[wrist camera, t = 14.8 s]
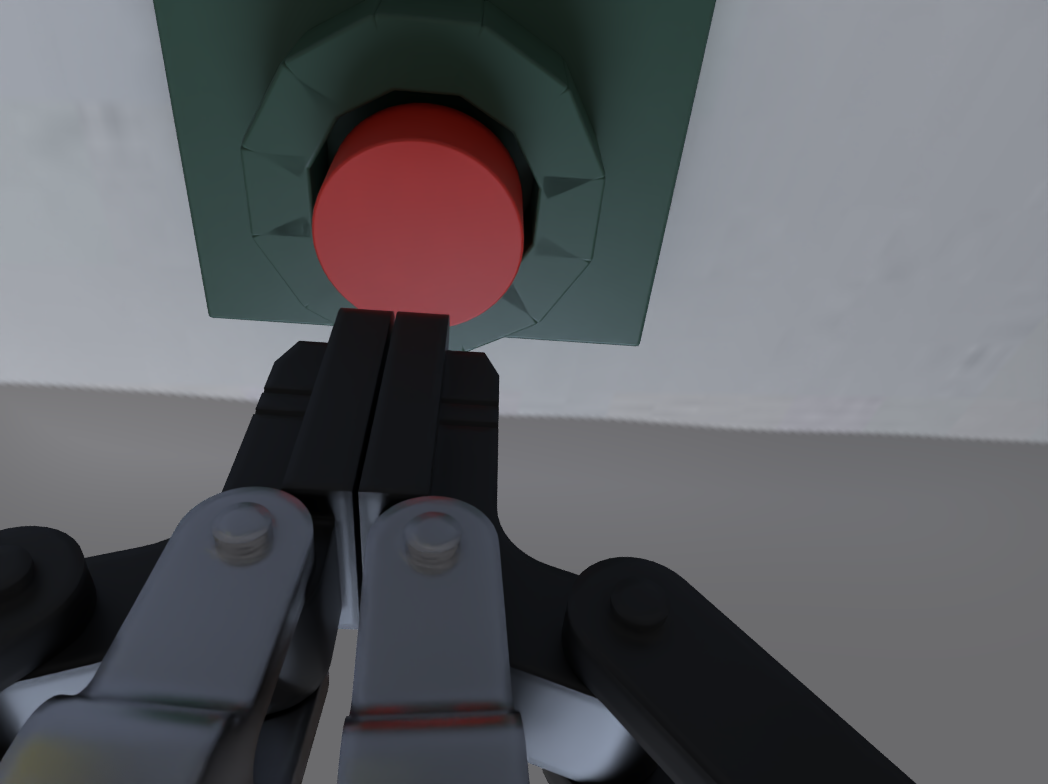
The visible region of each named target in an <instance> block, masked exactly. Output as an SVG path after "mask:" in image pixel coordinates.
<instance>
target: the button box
mask: <svg viewBox="0 0 1048 784" xmlns="http://www.w3.org/2000/svg"><path fill="white" fill-rule="evenodd" d="M153 3H154V9H155V14H156V20H157V26H158V31H159V37H160V43H161V48H162V54H163V60H164V65H165V71H166V77H167V82H168V88H169V93H170V99H171V105H172V110H173V116H174V122H175V127H176V133H177V139H178V144H179V150H180V156H181V161H182V167H183V172H184V178H185V184H186V189H187V195H188V201H189V206H190V212H191V218H192V223H193V229H194V235H195V240H196V246H197V252H198V257H199V263H200V268H201V274H202V280H203V285H204V291H205V297H206V302H207V308H208V314H209V316H210V317H212V318H226V319H241V320H256V321H270V322H285V323H300V324H315V325H330V326H334V323H335V320H336V317H337V314H338V311H339V309H340V308H354V309H358V308H357V307H355V306H354V305H353V304H352V303H350V302H349V301H348V300H347V299H346V298H345V297H344V296H343V295H342V294H340V293H339V292H338V290H337V289H336V288H335V287H334V285H333V284H332V283H331V282H330V280H329V279H328V277H327V275H326V274H325V272H324V271H323V269H322V266H321V264H320V262H319V260H318V258H317V254H316V251H315V247H314V243H313V236H312V216H313V209H314V205H315V202H316V198H317V195H318V193H319V191H320V188H321V186H322V184H323V182H324V179H325V177H326V175H327V172H328V170H329V168H330V166H331V163H332V161H333V159H334V157H335V155H336V153H337V150H338V148H339V146H340V145H341V143H342V142H343V140H344V139H345V137H346V136H347V135H348V134H349V133H350V132H351V131H352V130H353V128H354V127H355V126H357V125H358V124H359V123H360V122H362V121H363V120H364V119H366V118H367V117H369V116H371V115H372V114H374V113H376V112H378V111H381V110H383V109H386V108H388V107H392V106H396V105H400V104H408V103H431V104H438V105H443V106H446V107H450V108H453V109H456V110H459V111H461V112H463V113H465V114H468V115H469V116H471V117H473V118H474V119H476V120H478V121H479V122H481V123H482V124H483V125H485V126H486V127H487V128H488V129H490V130H491V131H492V132H493V133H494V134H495V135H496V136H497V137H498V138H499V140H500V141H501V142H502V143H503V145H504V146H505V147H506V149H507V150H508V152H509V154H510V156H511V157H512V159H513V161H514V163H515V166H516V168H517V171H518V174H519V178H520V182H521V188H522V199H523V224H524V249H523V255H522V261H521V264H520V267H519V270H518V272H517V274H516V276H515V278H514V280H513V282H512V284H511V285H510V287H509V288H508V290H507V291H506V293H505V294H504V295H503V296H502V297H501V298H500V299H499V300H498V301H497V302H496V303H495V304H494V305H493V306H491V307H490V308H489V309H488V310H486V311H485V312H483V313H482V314H480V315H479V316H477V317H475V318H473V319H471V320H468V321H466V322H463V323H460V324H457V325H454V326H449V350H452V351H470V350H473V349H475V348H478V347H480V346H483V345H485V344H488V343H490V342H493V341H495V340H498V339H500V338H503V337H508V338H523V339H538V340H552V341H567V342H582V343H597V344H612V345H627V346H638V345H639V344H640V340H641V336H642V331H643V327H644V322H645V318H646V313H647V309H648V304H649V300H650V295H651V291H652V286H653V282H654V277H655V273H656V268H657V264H658V260H659V255H660V251H661V246H662V242H663V237H664V233H665V228H666V224H667V219H668V215H669V210H670V206H671V201H672V197H673V192H674V188H675V183H676V179H677V174H678V170H679V165H680V161H681V156H682V152H683V147H684V143H685V138H686V134H687V129H688V125H689V120H690V116H691V111H692V107H693V102H694V98H695V93H696V89H697V84H698V80H699V75H700V71H701V66H702V62H703V57H704V53H705V48H706V44H707V39H708V35H709V30H710V26H711V21H712V17H713V12H714V8H715V3H716V0H153Z"/></svg>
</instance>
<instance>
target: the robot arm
mask: <svg viewBox="0 0 1048 784" xmlns="http://www.w3.org/2000/svg"><path fill="white" fill-rule="evenodd" d="M449 325H450V316H449V315H446V314H431V313H417V312H402V311H398V312H397V314H396V318H395V314H394V311H384V310H369V309H354V308H340V309H339V311H338V314H337V317H336V320H335V323H334V326H333V329H332V332H331V335H330V338H329V341H328V343H325V342H309V341H298V342H297V343H296V344H295V345H294V346H293V347H291V348H290V349H289V350H288V351H287V352H286V353H285V354H283V355H282V356H281V357H280V358H279V359H278V360H276V361H275V362H274V365H273V367H272V370H271V372H270V375H269V377H268V380H267V382H266V385H265V387H264V393H262V394H261V397H260V399H259V402H258V404H257V407H256V413H255V414H253V417H252V419H251V421H250V424H249V426H248V429H247V431H246V434H245V436H244V439H243V441H242V444H241V446H240V449H239V451H238V453H237V456H236V459H235V461H234V463H233V466H232V468H231V471H230V473H229V476H228V478H227V481H226V483H225V486H224V488H223V490H222V492H221V493H219V494H216V495H214V496H212V497H209V498H208V499H206V500H204V501H202V502H201V503H199V504H198V505H196V506H195V507H194V508H193V509H191V510H190V511H189V512H188V513H187V514H186V515H185V516H184V517H183V518H182V520H181V521H180V523H179V524H178V525H177V527H176V529H175V531H174V532H173V534H172V536H171V538H169V539H167V540H164V541H160V542H158V543H155V544H151V545H147V546H143V547H138V548H133V549H128V550H123V551H117V552H113V553H108V554H102V555H97V556H92V557H88V558H84V555H83V553H82V551H81V548H80V546H79V545H78V543H77V542H76V541H75V540H74V539H73V538H72V537H70V536H69V535H67V534H66V533H64V532H61V531H59V530H56V529H52V528H48V527H39V526H21V527H15V528H8V529H4V530H0V784H301V783H302V779H303V776H304V772H305V769H306V766H307V762H308V758H309V755H310V751H311V748H312V744H313V741H314V737H315V734H316V730H317V727H318V723H319V720H320V716H321V713H322V709H323V706H324V702H325V698H326V695H327V692H328V686H329V672H328V670H329V667H330V664H331V660H332V655H333V650H334V645H335V640H336V635H337V630H338V629H358V637H357V648H356V659H355V670H354V681H353V693H352V703H351V710H350V715H349V716H347V717H346V718H345V722H344V727H343V732H342V740H341V748H340V758H339V769H338V778H337V784H530V782H529V773H528V763H531V764H533V765H536V766H538V767H541V768H542V770H543V773H544V775H545V777H546V779H547V781H548V783H549V784H916V783H915V782H914V781H912V780H911V779H910V778H909V777H908V776H907V775H906V774H905V773H904V772H902V771H901V770H900V769H899V768H898V767H897V766H895V765H894V764H893V763H892V762H891V761H890V760H889V759H888V758H886V757H885V756H884V755H883V754H882V753H880V751H878V750H877V749H876V748H875V747H874V746H873V745H872V744H870V743H869V742H868V741H867V740H866V739H865V738H864V737H863V736H861V735H860V734H859V733H858V732H857V731H856V730H855V729H854V728H852V727H851V726H850V725H849V724H848V723H847V722H846V721H845V720H843V719H842V718H841V717H840V716H839V715H838V714H837V713H835V712H834V711H833V710H832V709H831V708H830V707H829V706H827V705H826V704H825V703H824V702H823V701H822V700H821V699H820V698H818V697H817V696H816V695H815V694H814V693H813V692H812V691H810V690H809V689H808V688H807V687H806V686H805V685H803V683H801V682H800V681H799V680H798V679H797V678H796V677H794V676H793V675H792V674H791V673H790V672H789V671H788V670H787V669H785V668H784V667H783V666H782V665H781V664H780V663H778V661H776V660H775V659H774V658H773V657H772V656H770V654H768V653H767V652H766V651H765V650H764V649H763V648H762V647H760V646H759V645H758V644H757V643H756V642H755V641H754V640H753V639H751V638H750V637H749V636H748V635H747V634H746V633H745V632H743V631H742V630H741V629H740V628H739V627H738V626H737V625H736V624H734V623H733V622H732V621H731V620H730V619H729V618H727V617H726V616H725V615H724V614H723V613H722V612H721V611H720V610H718V609H717V608H716V607H715V606H714V605H713V604H712V603H711V602H709V601H708V600H707V599H706V598H705V597H704V596H703V595H701V594H700V593H699V592H698V591H697V590H696V589H695V588H694V587H692V586H691V585H690V584H689V583H688V582H687V581H686V580H684V579H683V578H682V577H681V576H679V575H678V574H677V573H675V572H674V571H672V570H670V569H668V568H667V567H665V566H663V565H660V564H658V563H655V562H653V561H649V560H645V559H641V558H634V557H617V558H609V559H606V560H603V561H600V562H597V563H595V564H594V565H591V566H590V567H588V568H587V569H586V570H584V571H583V572H582V573H581V574H580V575H577V574H574V573H571V572H568V571H565V570H561V569H558V568H555V567H552V566H549V565H547V564H544V563H542V562H539V561H537V560H535V559H533V558H532V557H530V556H528V555H527V554H525V553H524V552H522V551H521V550H520V549H519V548H517V547H516V546H515V545H514V544H513V543H512V542H511V541H510V539H509V538H508V537H507V535H506V534H505V533H504V531H503V529H502V527H501V525H500V522H499V518H498V513H497V474H498V473H497V472H498V419H499V407H498V406H499V375H498V373H497V371H496V370H495V368H494V367H493V365H492V364H491V362H490V360H489V359H488V357H487V356H486V354H485V353H483V352H468V351H452V350H449Z"/></svg>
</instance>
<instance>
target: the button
mask: <svg viewBox="0 0 1048 784" xmlns="http://www.w3.org/2000/svg"><path fill="white" fill-rule="evenodd" d="M312 236H313V243H314V247H315V251H316V254H317V258H318V260H319V262H320V264H321V266H322V269H323V271H324V272H325V274H326V275H327V277H328V279H329V280H330V282H331V283H332V284H333V285H334V287H335V288H336V289H337V290H338V292H339V293H340V294H342V295H343V296H344V297H345V298H346V299H347V300H348V301H349V302H350V303H352V304H353V305H354V306H355V307H357V308H358V309H369V310H384V311H394V314H395V318H396V314H397V312H398V311H402V312H417V313H431V314H446V315H449V316H450V325H449V326H454V325H457V324H460V323H463V322H466V321H468V320H471V319H473V318H475V317H477V316H479V315H480V314H482V313H483V312H485V311H486V310H488V309H489V308H490V307H491V306H493V305H494V304H495V303H496V302H497V301H498V300H499V299H500V298H501V297H502V296H503V295H504V294H505V293H506V291H507V290H508V288H509V287H510V285H511V284H512V282H513V280H514V278H515V276H516V274H517V272H518V270H519V267H520V264H521V261H522V255H523V249H524V224H523V199H522V188H521V182H520V178H519V174H518V171H517V168H516V166H515V163H514V161H513V159H512V157H511V156H510V154H509V152H508V150H507V149H506V147H505V146H504V145H503V143H502V142H501V141H500V140H499V138H498V137H497V136H496V135H495V134H494V133H493V132H492V131H491V130H490V129H488V128H487V127H486V126H485V125H483V124H482V123H481V122H479V121H478V120H476V119H474V118H473V117H471V116H469V115H468V114H465V113H463V112H461V111H459V110H456V109H453V108H450V107H446V106H443V105H438V104H431V103H408V104H400V105H396V106H392V107H388V108H386V109H383V110H381V111H378V112H376V113H374V114H372V115H371V116H369V117H367V118H366V119H364V120H363V121H362V122H360V123H359V124H358V125H357V126H355V127H354V128H353V130H352V131H351V132H350V133H349V134H348V135H347V136H346V137H345V139H344V140H343V142H342V143H341V145H340V146H339V148H338V150H337V153H336V155H335V157H334V159H333V161H332V163H331V166H330V168H329V170H328V172H327V175H326V177H325V179H324V182H323V184H322V186H321V188H320V191H319V193H318V195H317V198H316V202H315V205H314V209H313V216H312Z"/></svg>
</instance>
